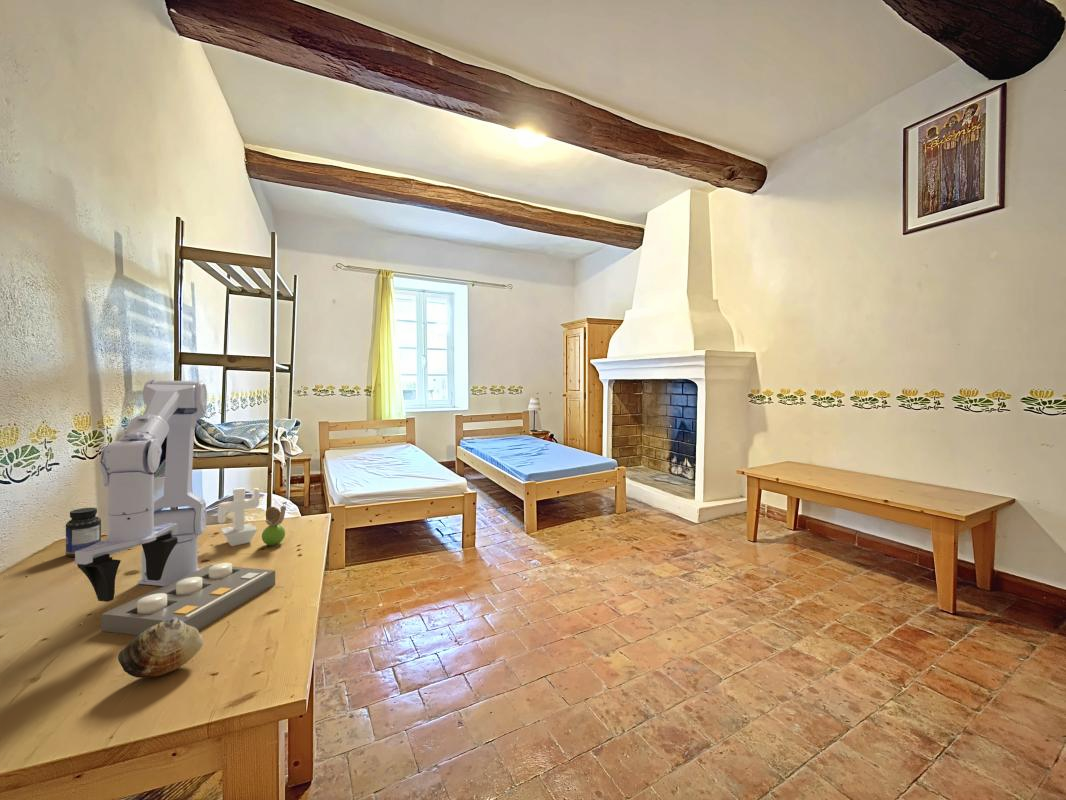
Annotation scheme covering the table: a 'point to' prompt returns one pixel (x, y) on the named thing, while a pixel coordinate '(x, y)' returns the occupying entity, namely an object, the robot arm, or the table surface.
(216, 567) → the button
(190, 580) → the button middle
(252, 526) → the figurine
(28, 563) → the table surface
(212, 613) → the switch console
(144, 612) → the button
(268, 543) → the snail figurine
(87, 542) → the pill bottle
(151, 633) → the seashell
